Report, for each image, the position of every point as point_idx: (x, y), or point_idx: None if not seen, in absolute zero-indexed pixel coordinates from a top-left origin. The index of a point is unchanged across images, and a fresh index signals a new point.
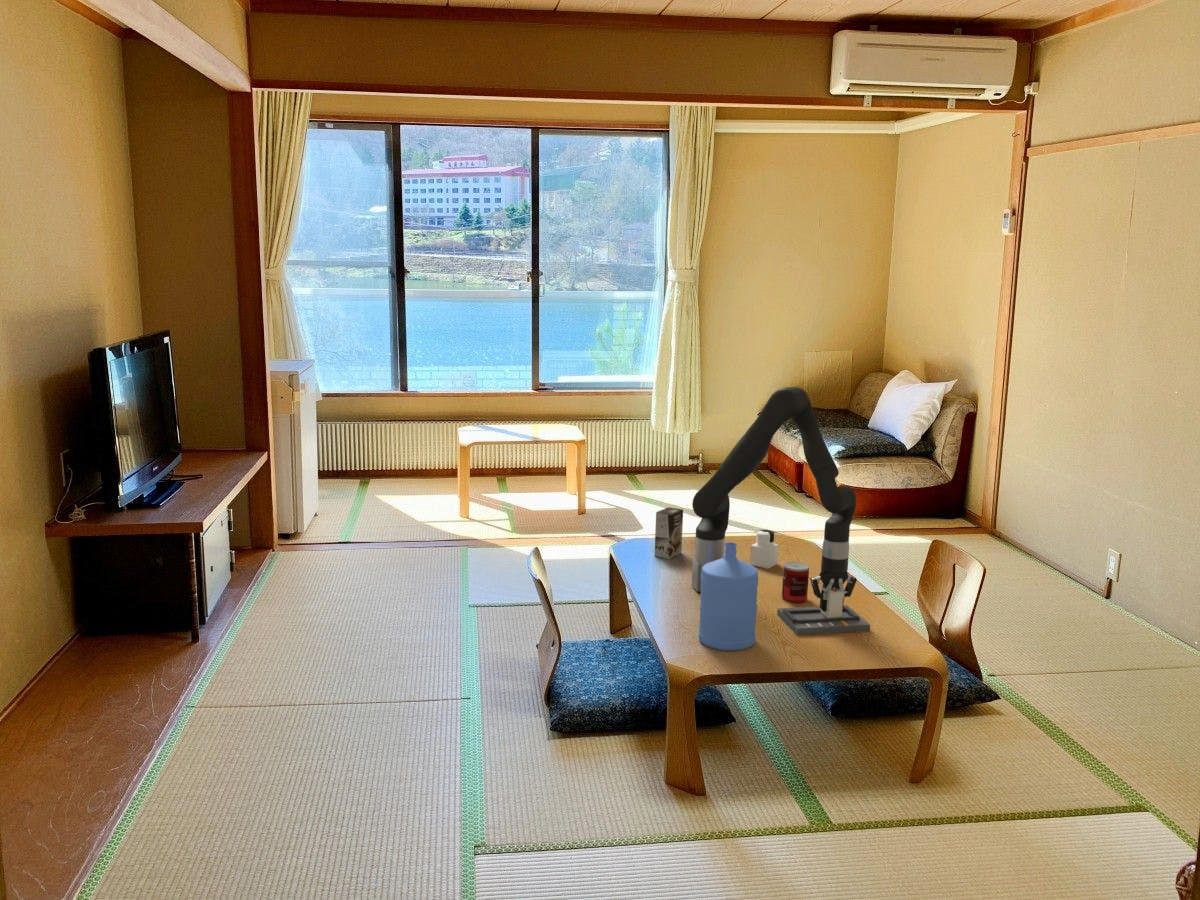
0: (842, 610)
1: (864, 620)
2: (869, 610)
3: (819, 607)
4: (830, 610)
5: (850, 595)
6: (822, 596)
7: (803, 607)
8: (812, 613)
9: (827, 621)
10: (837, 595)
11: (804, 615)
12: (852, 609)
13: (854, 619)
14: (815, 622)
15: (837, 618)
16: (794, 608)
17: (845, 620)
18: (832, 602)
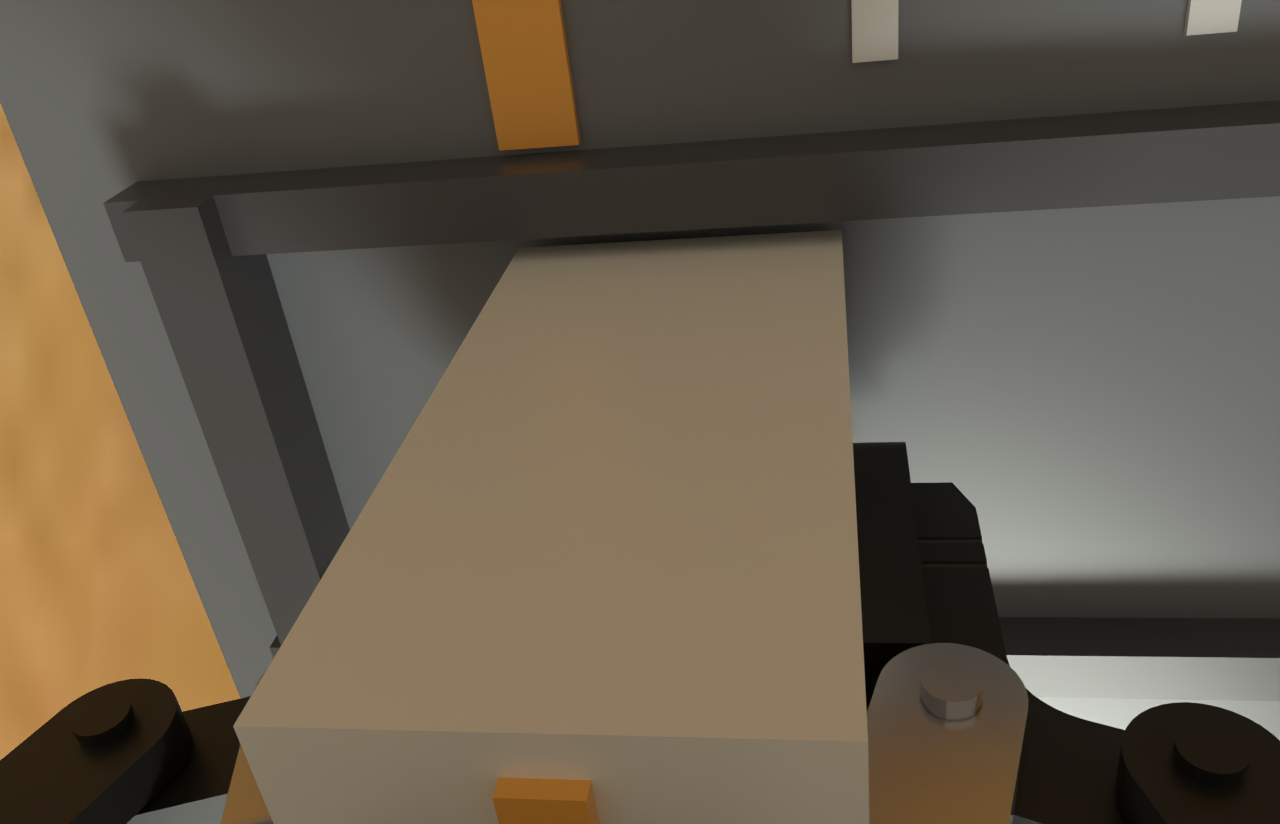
0: None
1: (36, 143)
2: (6, 705)
3: None
4: (803, 331)
5: (68, 708)
6: (1029, 767)
7: None
8: (1035, 580)
9: (906, 129)
10: (527, 633)
11: (1275, 509)
12: (221, 649)
13: (241, 177)
14: (1254, 90)
15: (641, 169)
16: None
17: (451, 162)
18: (748, 459)
